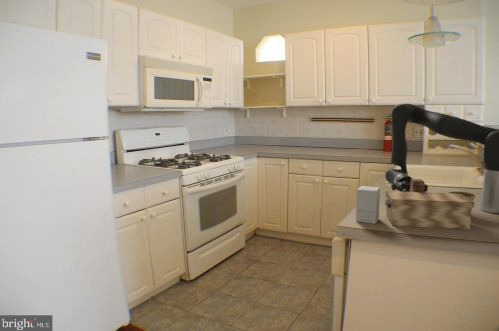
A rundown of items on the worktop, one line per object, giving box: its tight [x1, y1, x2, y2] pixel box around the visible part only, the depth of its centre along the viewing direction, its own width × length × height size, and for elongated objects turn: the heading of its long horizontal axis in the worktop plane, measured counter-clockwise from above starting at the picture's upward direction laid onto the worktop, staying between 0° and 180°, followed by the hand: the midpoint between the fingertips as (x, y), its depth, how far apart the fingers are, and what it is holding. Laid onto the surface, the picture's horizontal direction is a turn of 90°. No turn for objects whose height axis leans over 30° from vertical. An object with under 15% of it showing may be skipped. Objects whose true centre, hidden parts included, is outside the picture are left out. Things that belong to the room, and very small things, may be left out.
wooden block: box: [410, 178, 425, 192], centre depth 145 cm, size 4×4×14 cm
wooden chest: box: [384, 190, 475, 230], centre depth 139 cm, size 28×21×10 cm
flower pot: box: [447, 190, 476, 202], centre depth 144 cm, size 9×9×9 cm
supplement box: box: [355, 185, 381, 225], centre depth 138 cm, size 7×7×13 cm
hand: (412, 190), depth 151 cm, fingers open, 8 cm apart
